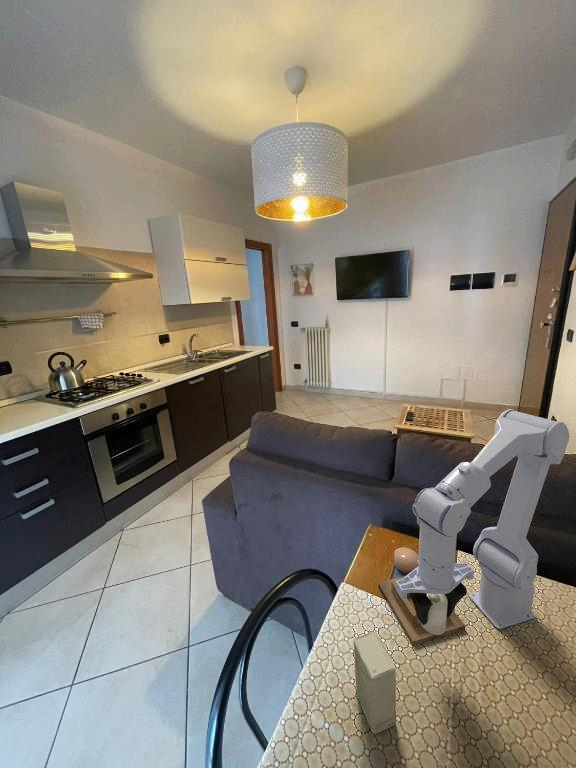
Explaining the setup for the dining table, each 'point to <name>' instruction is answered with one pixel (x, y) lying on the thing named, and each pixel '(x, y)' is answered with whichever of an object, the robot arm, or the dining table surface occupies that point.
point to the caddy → (414, 614)
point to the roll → (436, 614)
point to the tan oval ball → (405, 559)
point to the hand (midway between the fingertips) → (433, 615)
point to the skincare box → (375, 682)
